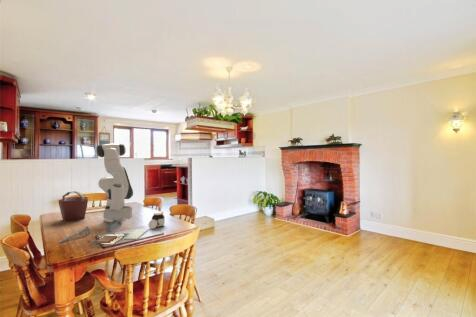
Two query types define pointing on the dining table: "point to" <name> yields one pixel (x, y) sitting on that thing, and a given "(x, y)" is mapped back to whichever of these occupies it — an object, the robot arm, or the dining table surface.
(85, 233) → the caliper
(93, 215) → the dining table surface
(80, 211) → the bucket
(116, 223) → the pusher bar
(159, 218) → the spread jar
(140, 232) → the tool board
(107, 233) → the mat
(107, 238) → the tile
